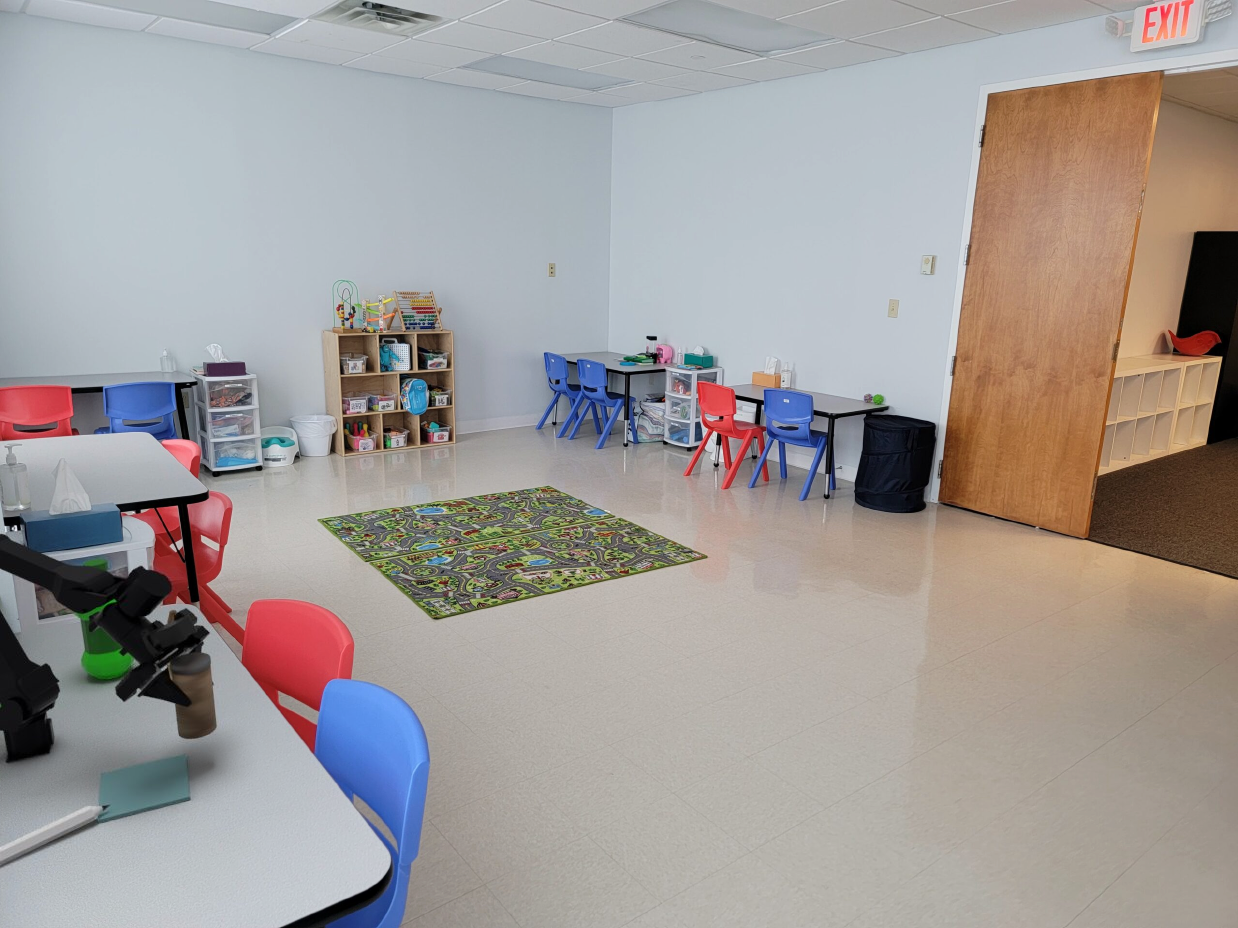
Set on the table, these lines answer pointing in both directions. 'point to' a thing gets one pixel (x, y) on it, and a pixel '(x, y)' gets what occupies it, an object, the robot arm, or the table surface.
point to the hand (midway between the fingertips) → (201, 695)
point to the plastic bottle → (101, 643)
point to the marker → (49, 833)
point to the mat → (143, 787)
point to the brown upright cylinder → (194, 695)
